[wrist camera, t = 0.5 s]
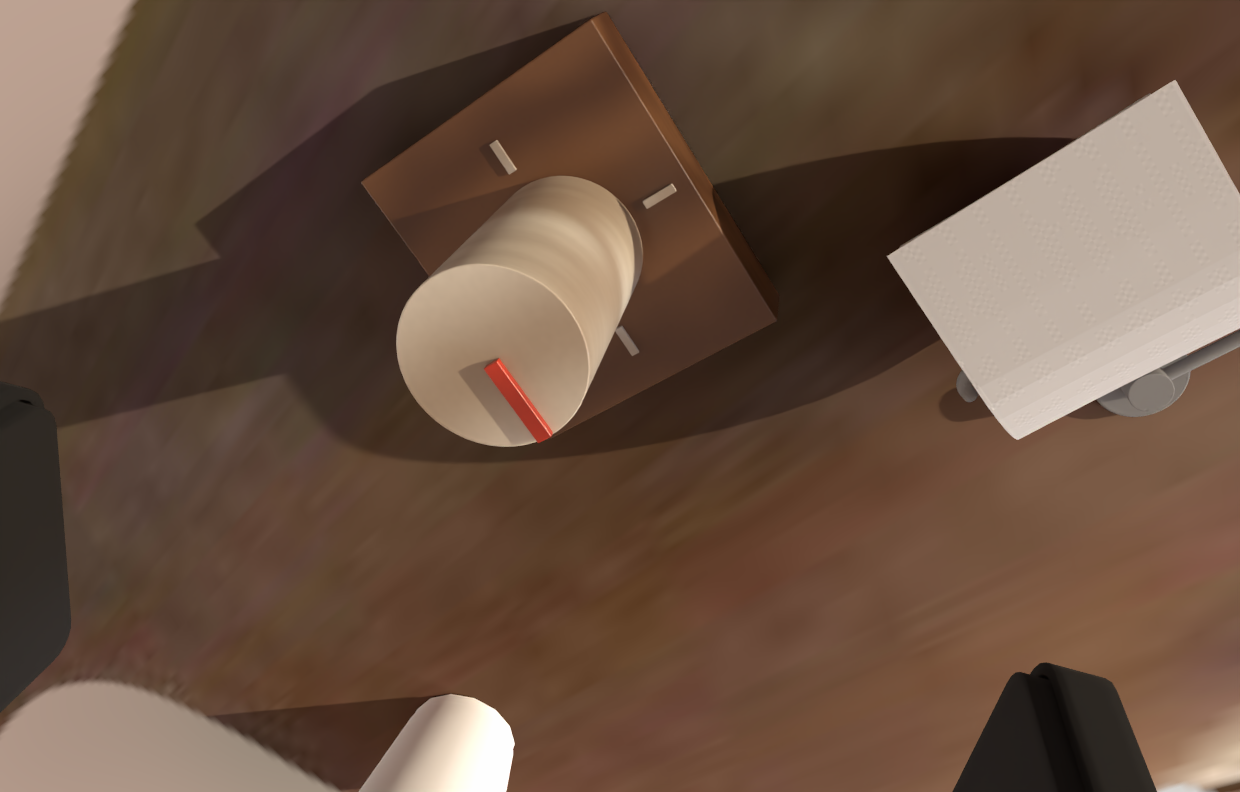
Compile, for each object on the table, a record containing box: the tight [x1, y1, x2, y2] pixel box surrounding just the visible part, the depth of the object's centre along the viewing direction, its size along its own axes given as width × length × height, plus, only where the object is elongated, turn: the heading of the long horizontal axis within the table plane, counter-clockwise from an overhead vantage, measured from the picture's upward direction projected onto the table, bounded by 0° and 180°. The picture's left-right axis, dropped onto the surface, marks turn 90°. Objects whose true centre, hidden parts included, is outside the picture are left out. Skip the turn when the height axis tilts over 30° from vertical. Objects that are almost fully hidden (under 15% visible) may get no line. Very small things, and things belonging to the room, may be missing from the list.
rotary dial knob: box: [396, 176, 643, 447], centre depth 36 cm, size 6×6×11 cm
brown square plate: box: [361, 12, 779, 439], centre depth 43 cm, size 14×12×3 cm
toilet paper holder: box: [887, 80, 1240, 440], centre depth 37 cm, size 12×9×15 cm
